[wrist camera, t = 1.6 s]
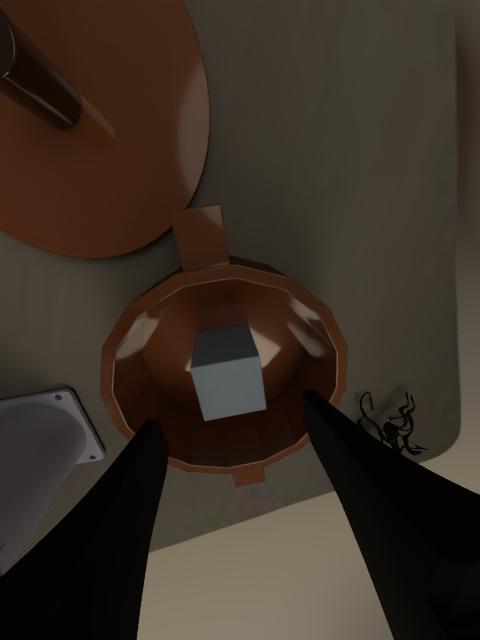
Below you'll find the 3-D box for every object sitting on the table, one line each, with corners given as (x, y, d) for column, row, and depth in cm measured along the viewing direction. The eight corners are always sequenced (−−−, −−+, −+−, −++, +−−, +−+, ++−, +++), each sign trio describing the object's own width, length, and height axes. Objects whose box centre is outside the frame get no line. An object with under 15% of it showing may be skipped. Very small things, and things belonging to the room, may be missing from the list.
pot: (171, 448, 22) (157, 513, 16) (91, 233, 14) (21, 232, 9) (314, 420, 22) (343, 475, 17) (307, 199, 15) (354, 180, 10)
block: (207, 374, 18) (204, 421, 14) (196, 331, 17) (189, 368, 12) (254, 366, 19) (266, 409, 14) (247, 322, 17) (259, 355, 12)
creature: (366, 370, 22) (326, 438, 22) (420, 398, 17) (366, 485, 17) (416, 399, 24) (378, 460, 24) (478, 431, 19) (429, 509, 19)
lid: (2, 274, 15) (-101, 293, 10) (-204, -102, 9) (-672, -476, 4) (230, 237, 15) (236, 238, 10) (172, -138, 10) (129, -504, 5)
